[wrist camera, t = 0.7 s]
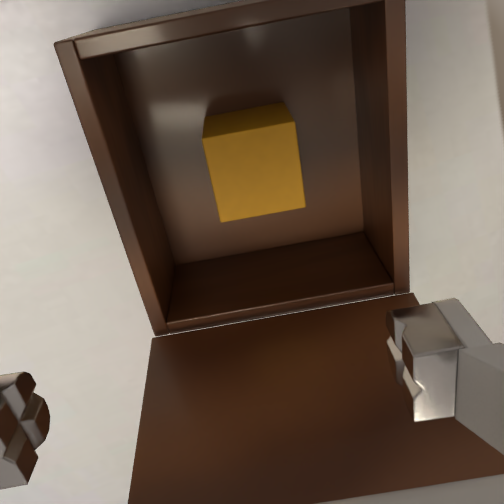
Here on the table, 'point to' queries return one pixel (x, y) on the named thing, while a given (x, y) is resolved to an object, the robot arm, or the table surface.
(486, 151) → the table surface
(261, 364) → the lid
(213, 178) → the block
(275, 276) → the chest
